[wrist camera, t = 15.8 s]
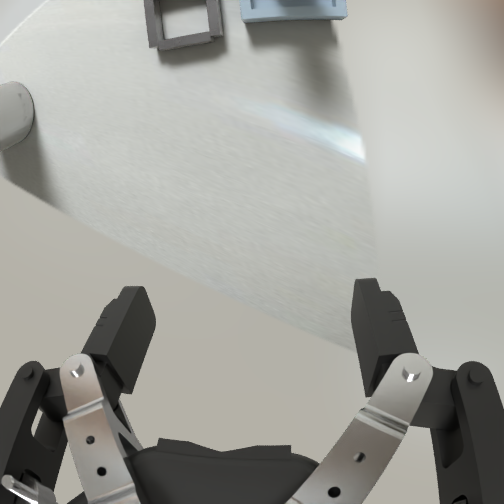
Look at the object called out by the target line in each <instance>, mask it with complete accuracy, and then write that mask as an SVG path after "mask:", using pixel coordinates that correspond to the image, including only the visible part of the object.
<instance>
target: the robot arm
mask: <svg viewBox="0 0 504 504" xmlns="http://www.w3.org/2000/svg"><path fill="white" fill-rule="evenodd" d="M33 113H34V110H33V103H32V99H31V96H30V94H29V92H28V90H27V89H26V88H25V87H24V86H23V85H22V84H20V83H18V82H9V83H5V84H1V85H0V152H1V151H3V150H5V149H7V148H9V147H11V146H13V145H15V144H16V143H18V142H20V141H22V140H23V139H24V138H25V137H26V136H27V135H28V133H29V131H30V129H31V126H32V122H33ZM351 323H352V329H353V334H354V338H355V343H356V348H357V353H358V358H359V363H360V369H361V373H362V379H363V385H364V390H365V396H366V397H371V398H370V400H369V402H368V403H367V405H366V406H365V407H364V408H363V409H361V410H360V411H359V412H358V413H357V415H356V416H355V417H354V419H353V420H352V422H351V423H350V425H349V426H348V428H347V429H346V430H345V432H344V433H343V434H342V436H341V437H340V439H339V440H338V441H337V443H336V444H335V445H334V446H333V448H332V449H331V450H330V452H329V453H328V454H327V456H326V457H325V458H324V459H323V461H322V462H321V463H320V464H319V463H318V462H316V461H314V460H312V459H310V458H308V457H305V456H302V455H298V454H294V453H291V445H284V446H283V445H280V446H258V445H257V446H252V447H247V448H242V449H236V450H231V451H225V452H220V451H216V450H213V449H210V448H206V447H203V446H200V445H197V444H194V443H192V442H188V441H179V440H170V439H163V438H159V440H158V444H157V446H153V447H149V448H145V449H143V447H142V446H141V444H140V443H139V441H138V439H137V438H136V436H135V433H134V431H133V429H132V427H131V425H130V422H129V420H128V418H127V415H126V413H125V411H124V408H123V406H122V403H121V401H120V400H119V397H120V395H121V393H126V394H132V392H133V389H134V386H135V383H136V380H137V378H138V375H139V372H140V369H141V366H142V363H143V361H144V358H145V355H146V352H147V349H148V347H149V344H150V341H151V339H152V336H153V333H154V330H155V326H156V318H155V314H154V311H153V308H152V306H151V303H150V301H149V298H148V295H147V292H146V290H145V288H144V287H143V286H125V287H124V288H123V289H122V291H121V293H120V295H119V296H118V298H117V299H113V300H112V301H111V302H110V303H109V304H108V305H107V306H106V307H105V308H104V310H103V312H102V314H101V316H100V319H98V321H97V323H96V326H95V327H94V329H93V330H92V332H91V334H90V336H89V338H88V340H87V342H86V344H85V346H84V348H83V350H82V352H81V354H75V355H72V356H70V357H69V358H67V359H66V360H65V361H64V362H63V364H62V366H61V368H55V369H48V370H45V369H44V368H43V366H42V365H41V364H40V363H39V362H37V361H30V362H28V363H26V364H24V365H23V366H22V367H21V368H20V369H19V370H18V372H17V374H16V376H15V378H14V380H13V382H12V384H11V386H10V388H9V390H8V392H7V394H6V397H5V399H4V401H3V403H2V405H1V408H0V504H58V503H57V502H56V498H55V495H54V493H53V492H54V488H55V484H56V481H57V477H58V473H59V469H60V466H61V463H62V459H63V456H64V452H65V449H66V446H67V442H69V446H70V449H71V453H72V456H73V459H74V462H75V465H76V469H77V472H78V475H79V478H80V481H81V484H82V487H83V489H84V491H83V492H82V493H81V494H79V495H78V496H77V497H75V498H74V499H73V500H71V501H70V502H68V503H67V504H362V503H363V501H364V500H365V499H366V497H367V496H368V494H369V493H370V491H371V490H372V488H373V487H374V486H375V484H376V482H377V481H378V479H379V478H380V476H381V475H382V473H383V472H384V470H385V468H386V467H387V465H388V463H389V462H390V460H391V459H392V457H393V455H394V454H395V452H396V450H397V449H398V447H399V445H400V443H401V442H402V440H403V438H404V436H405V434H406V432H407V428H408V427H409V425H410V426H418V427H425V428H430V432H431V437H432V444H433V450H434V457H435V464H436V472H437V480H438V488H439V499H440V504H504V409H503V405H502V402H501V399H500V396H499V393H498V390H497V387H496V385H495V382H494V379H493V376H492V374H491V372H490V370H489V369H488V368H487V367H486V366H484V365H483V364H482V363H479V362H475V361H469V362H466V363H464V364H462V365H461V366H460V367H459V369H458V370H457V371H454V370H446V369H439V368H435V367H433V366H431V364H430V362H429V361H428V360H427V359H426V358H424V357H423V356H421V355H419V353H418V350H417V347H416V345H415V342H414V339H413V336H412V333H411V331H410V328H409V325H408V323H407V321H406V317H405V315H404V313H403V310H402V307H401V305H400V302H399V300H398V299H397V298H396V297H395V296H394V295H393V294H392V293H391V292H390V291H381V290H380V287H379V284H378V282H377V279H376V278H366V279H356V280H355V284H354V292H353V300H352V308H351ZM38 409H40V410H41V411H42V412H43V414H42V416H41V419H40V421H39V424H38V427H37V429H36V432H35V435H34V437H33V435H32V432H31V427H32V424H33V421H34V419H35V416H36V414H37V411H38Z"/></svg>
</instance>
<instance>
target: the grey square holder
mask: <svg viewBox="0 0 504 504" xmlns="http://www.w3.org/2000/svg"><path fill="white" fill-rule="evenodd" d="M206 4H207V13H208V21H209V30H210V32H203V33H198V34H192V35H187V36H181V37H176V38H172V39H167V40H164V38H163V30H162V22H161V13H160V4H159V0H144V7H145V16H146V25H147V33H148V41H149V48H159V50H163V51H166V50H170V49H175V48H180V47H185V46H191V45H197V44H203V43H209V42H214V37H220V36H223V29H222V20H221V12H220V3H219V0H206Z"/></svg>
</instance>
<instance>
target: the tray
mask: <svg viewBox="0 0 504 504" xmlns="http://www.w3.org/2000/svg"><path fill="white" fill-rule="evenodd" d="M239 1H240V10H241V18H242V21H243V22H244V23H251V22H263V21H278V20H342V19H344V18H346V17H347V6H346V0H239Z"/></svg>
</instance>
